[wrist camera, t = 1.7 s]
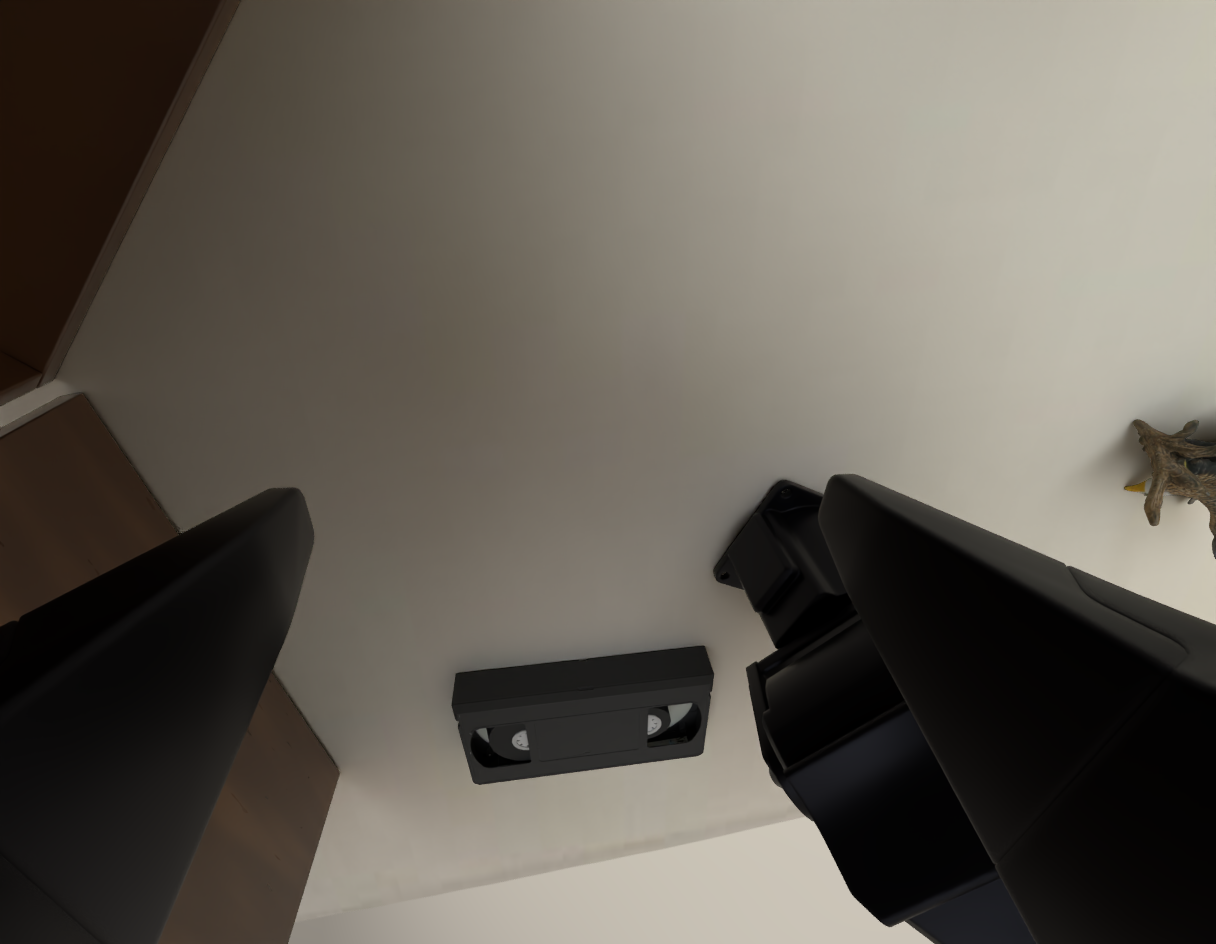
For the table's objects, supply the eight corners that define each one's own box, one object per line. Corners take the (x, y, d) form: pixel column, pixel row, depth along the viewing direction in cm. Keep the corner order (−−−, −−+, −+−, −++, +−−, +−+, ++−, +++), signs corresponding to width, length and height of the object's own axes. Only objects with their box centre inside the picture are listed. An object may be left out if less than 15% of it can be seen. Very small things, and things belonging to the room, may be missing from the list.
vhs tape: (476, 754, 34) (473, 786, 32) (456, 673, 30) (451, 705, 28) (695, 726, 35) (703, 756, 34) (704, 645, 31) (714, 674, 30)
